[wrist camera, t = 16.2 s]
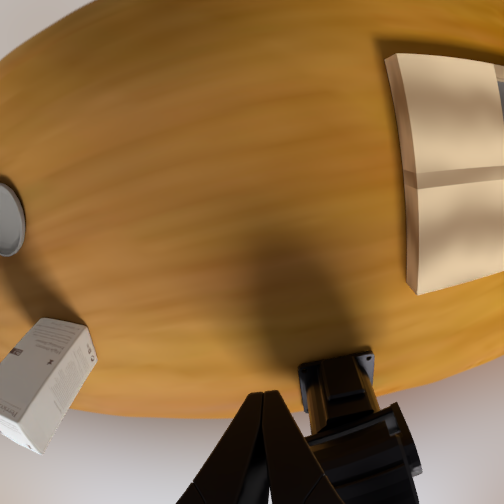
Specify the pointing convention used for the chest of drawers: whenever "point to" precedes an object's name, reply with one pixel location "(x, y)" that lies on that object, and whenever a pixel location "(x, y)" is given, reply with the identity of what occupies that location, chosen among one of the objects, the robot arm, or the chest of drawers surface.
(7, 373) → the skincare box
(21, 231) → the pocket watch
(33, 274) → the chest of drawers surface
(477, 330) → the chest of drawers surface
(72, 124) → the chest of drawers surface
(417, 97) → the board
